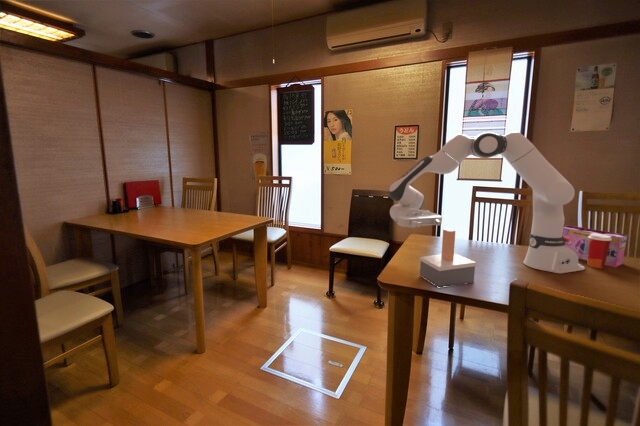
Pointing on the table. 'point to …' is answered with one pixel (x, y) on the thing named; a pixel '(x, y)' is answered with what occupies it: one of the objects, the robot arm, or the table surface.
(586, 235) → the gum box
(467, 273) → the parts tub
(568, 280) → the table surface
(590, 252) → the paper cup
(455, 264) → the lid
